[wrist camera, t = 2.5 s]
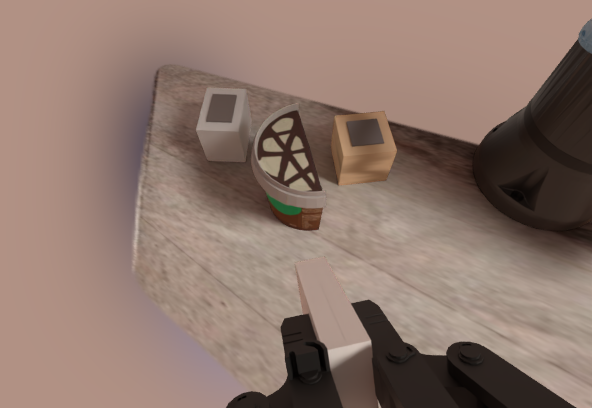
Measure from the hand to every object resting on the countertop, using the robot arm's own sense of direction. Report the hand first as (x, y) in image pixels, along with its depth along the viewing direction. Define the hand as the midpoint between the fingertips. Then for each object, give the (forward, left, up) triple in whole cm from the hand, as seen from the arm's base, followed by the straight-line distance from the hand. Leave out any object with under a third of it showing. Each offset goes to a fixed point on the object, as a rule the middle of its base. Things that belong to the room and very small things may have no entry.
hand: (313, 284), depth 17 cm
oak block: (-6, -22, -20) cm, 31 cm away
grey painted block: (+11, -25, -20) cm, 34 cm away
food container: (+3, -16, -21) cm, 26 cm away
